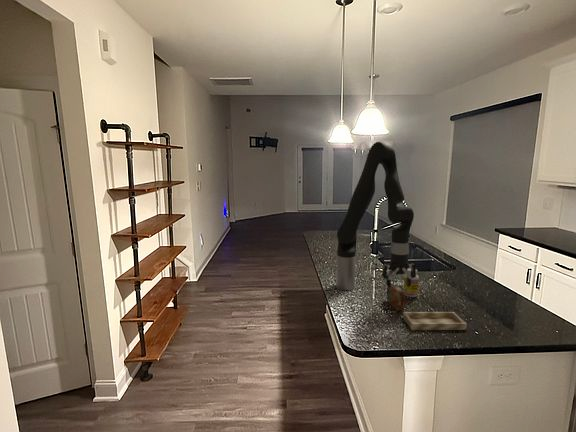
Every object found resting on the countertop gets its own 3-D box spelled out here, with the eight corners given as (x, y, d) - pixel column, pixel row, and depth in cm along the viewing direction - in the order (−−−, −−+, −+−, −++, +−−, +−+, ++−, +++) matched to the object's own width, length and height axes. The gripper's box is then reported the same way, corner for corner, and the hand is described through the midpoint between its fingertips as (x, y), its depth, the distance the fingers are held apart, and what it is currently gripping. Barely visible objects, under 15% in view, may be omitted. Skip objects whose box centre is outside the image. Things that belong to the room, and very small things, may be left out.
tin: (385, 299, 153) (386, 282, 152) (392, 298, 154) (393, 282, 152) (399, 314, 139) (400, 295, 137) (406, 313, 139) (407, 295, 137)
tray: (411, 329, 125) (412, 323, 125) (402, 317, 135) (403, 312, 135) (466, 329, 125) (466, 323, 125) (453, 317, 135) (453, 311, 135)
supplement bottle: (411, 298, 153) (412, 272, 151) (400, 293, 159) (401, 268, 157) (420, 296, 156) (422, 270, 154) (410, 291, 162) (411, 266, 160)
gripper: (386, 254, 138) (385, 290, 141) (419, 253, 139) (417, 289, 141) (380, 249, 146) (380, 284, 149) (412, 248, 146) (410, 283, 149)
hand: (398, 286), depth 145 cm, fingers open, 8 cm apart
